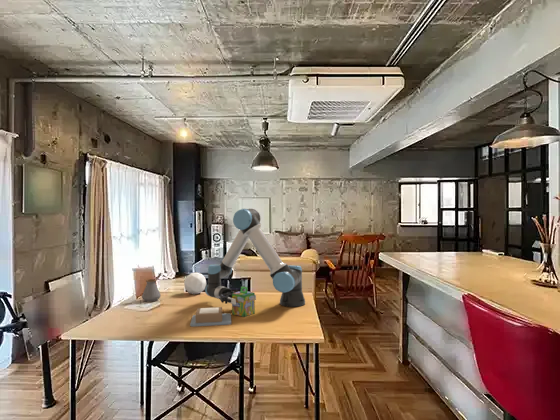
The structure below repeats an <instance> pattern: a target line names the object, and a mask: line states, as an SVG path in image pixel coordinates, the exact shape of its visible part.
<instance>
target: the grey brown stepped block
mask: <svg viewBox="0 0 560 420" xmlns="http://www.w3.org/2000/svg"><path fill="white" fill-rule="evenodd" d="M195 312H196V313H195V314H193V315H192V317H191V321H190V323H189V327H190V326H191V327H206V326H207V327H208V326H227V325H228V326H229V325H230V326H231V325H232V312H231V313H230V312H229V313H223V306H216V307H197V309H196V311H195Z"/></svg>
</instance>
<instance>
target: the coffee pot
mask: <svg viewBox="0 0 560 420" xmlns="http://www.w3.org/2000/svg"><path fill="white" fill-rule="evenodd" d="M160 276H161V277H162V276H163V273H162V272H160V273H159V274H158V275H157V276H156V278H154V279H152V278H151V279H145V282H146V285H145V287H144V290H143V293H142V295H141V299H142V300H143V301H144V302H146V301H153V302H158V300H160V298H161V292H160V290H159V289H158V286H157V284H156V282H157V280H158V279H159V278H160Z"/></svg>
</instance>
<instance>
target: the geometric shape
mask: <svg viewBox="0 0 560 420" xmlns="http://www.w3.org/2000/svg"><path fill="white" fill-rule="evenodd" d="M183 283H184V290H186V292H187V293H188V294H192V295H197V294H201V293H202V292H204V291H205V288H206V286H207V280H206V277H205V276H204V275H203V274H202V273H200V272H196V271H195V272H191V273H189V274H188V275H187V276H186V277H185V279H184V282H183Z"/></svg>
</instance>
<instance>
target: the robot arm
mask: <svg viewBox="0 0 560 420" xmlns="http://www.w3.org/2000/svg"><path fill="white" fill-rule="evenodd" d="M261 219H262V217H261V214H260V212H258V210H256V209H255V208H241V209H239V210H237V211H236V212H235V213H234V215H233V217H232V223H233V225H234V227H235V228H236V229H238V233H237V234H236V235H235V238H234V240H233V241H232V243H231V245H230V247H229V248H228V250H227V252H226V254H225V255H224V257H223V259H222V260H221V263H220V264H217V263H216V264H209V265H208V266H207V283H208V284H206V286H205V289H204V292H205V294H206V295H207V296H208V297H210V298H214V299H218V300H220V302H221V303H222V304H223V303H225V304H231V305H232V304H236V299H233V298H232V294H233V293H237V292H240V291H241V290H237V291H233V290H232V289H231V288H230V287H226V286H223V285H222V279H223V278H225V277H228V276H230V275H231V274H232V272H233V267H234V266H235V263H236V262H237V260H238V258H239V256H240V254H241V253H242V251H243V250H244V248H245V246H246V244H247V243H248V241H249V240H250V242H251V243H252V245H253V247H254V248H255V250H256V251H257V253H258V254H259V256H260V257H261V258H262V260H263V262H264V263H265V265H266V266H267V268H268V269H269V271H270V272H269V276H270V278H271V280H272V286H273V287H274V289H275V290H276V291H277V292H280V293H281V296H280V299H279V305H281V306H283V307H289V308H290V307H291V308H293V307H294V308H295V307H297V308H298V307H302V306H304V305H306V298H305V296H304V293H303V269H302V268H303V267H302V266H301V265H291V264H290V265H288V263H286V262H283V261H282V259H281V258H280V256H279V254H278V253H277V251H276V249H275V248H274V246H273V245H272V243H270V242H271V241H270V240H269V239H268V238H267V236H266V235H265V233H264V231H263V230H262V229H261V225H262V224H261ZM255 301H257V295H256V294H255Z"/></svg>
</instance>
